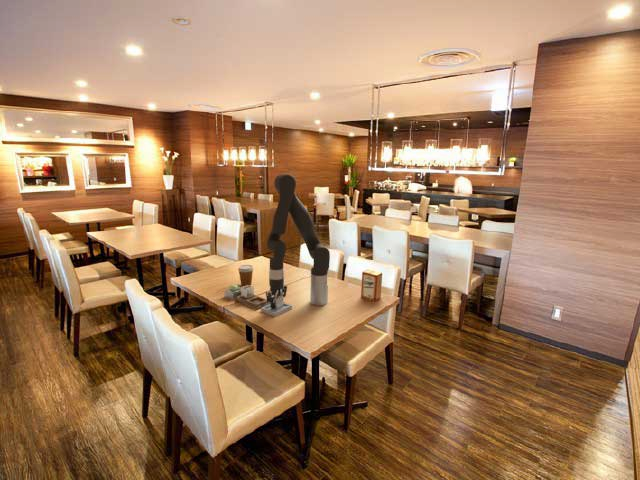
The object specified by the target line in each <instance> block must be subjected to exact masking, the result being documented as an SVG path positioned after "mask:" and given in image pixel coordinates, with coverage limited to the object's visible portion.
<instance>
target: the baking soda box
mask: <svg viewBox="0 0 640 480" xmlns="http://www.w3.org/2000/svg"><path fill="white" fill-rule="evenodd" d="M361 273H362V274H361V293H360V298H362V297H365V298H364V299H366V298H368V299H367V300H369V299H371V300H370V301H372V300H374V301H373V302H376V300H377V301H379V300H380V299H381V295H382V285H383V284H382V283H383V272H380V271H377V270H373V269H366V270H363V271H362V272H361ZM379 298H380V299H379Z"/></svg>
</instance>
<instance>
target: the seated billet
mask: <svg viewBox="0 0 640 480" xmlns="http://www.w3.org/2000/svg"><path fill="white" fill-rule="evenodd" d="M240 288H241V298H243V299H246V300H248V299H250V298H253V297H254V295H255V293H254V288H255V287H254V286H252V285H250V286H249V285H247V286H241V287H240Z"/></svg>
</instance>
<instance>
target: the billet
mask: <svg viewBox="0 0 640 480" xmlns="http://www.w3.org/2000/svg"><path fill="white" fill-rule="evenodd" d="M273 296H274V295H273ZM272 300H273V298H272ZM283 302H284V298H283V296H280V295H277V297H276V298H275V302H274V303H275V309H272V310H274V311H278V310H280V309H282V308H283ZM270 309H271V304H270Z"/></svg>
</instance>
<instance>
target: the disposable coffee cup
mask: <svg viewBox="0 0 640 480" xmlns="http://www.w3.org/2000/svg"><path fill="white" fill-rule="evenodd" d="M237 270H238V273H239V280H240V285H241V287H244V286H247V285H249V286H252V282H253V281H252V280H253V272H254V267H253V265H252V264H251V265H250V264H242V265H240V266H238V269H237Z"/></svg>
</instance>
